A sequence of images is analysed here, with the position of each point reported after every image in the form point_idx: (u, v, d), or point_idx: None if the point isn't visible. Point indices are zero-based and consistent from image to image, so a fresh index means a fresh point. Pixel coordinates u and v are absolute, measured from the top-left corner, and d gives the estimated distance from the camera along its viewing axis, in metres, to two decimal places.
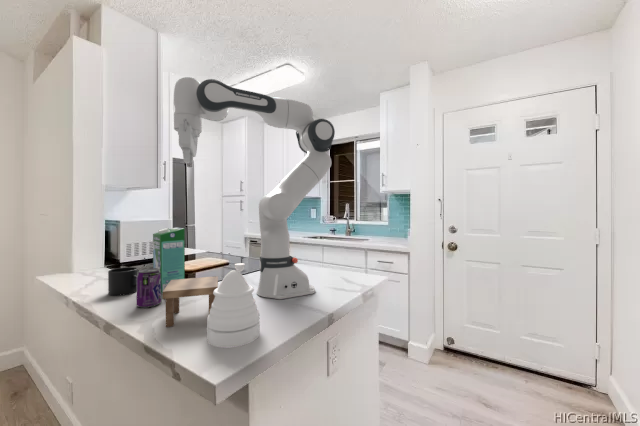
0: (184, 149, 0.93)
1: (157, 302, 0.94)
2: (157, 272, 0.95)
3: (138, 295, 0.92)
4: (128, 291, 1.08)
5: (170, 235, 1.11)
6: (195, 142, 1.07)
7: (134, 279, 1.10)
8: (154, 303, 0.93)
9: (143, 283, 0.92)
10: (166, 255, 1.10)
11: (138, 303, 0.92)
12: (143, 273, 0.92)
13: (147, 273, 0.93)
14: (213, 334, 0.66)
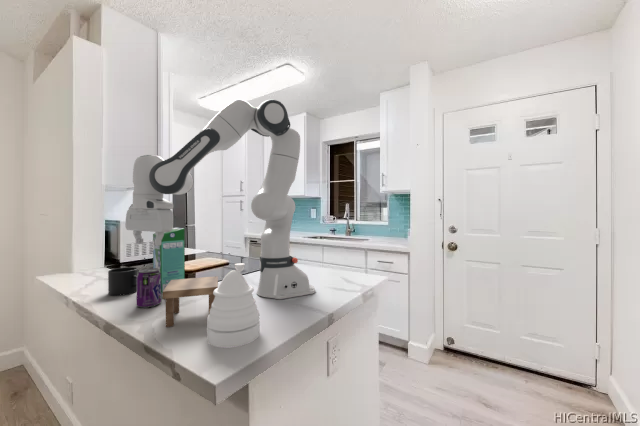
0: None
1: (157, 302, 0.94)
2: (157, 272, 0.95)
3: (138, 295, 0.92)
4: (128, 291, 1.08)
5: (170, 235, 1.11)
6: (157, 215, 0.90)
7: (134, 279, 1.10)
8: (154, 303, 0.93)
9: (143, 283, 0.92)
10: (166, 255, 1.10)
11: (138, 303, 0.92)
12: (143, 273, 0.92)
13: (147, 273, 0.93)
14: (213, 334, 0.66)
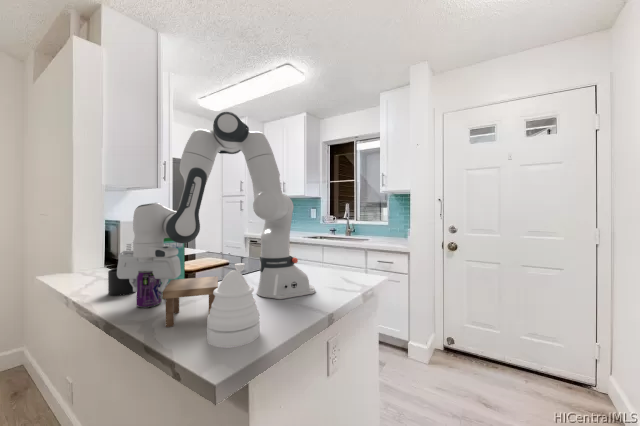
0: None
1: (157, 302, 0.94)
2: None
3: (138, 295, 0.92)
4: (128, 291, 1.08)
5: None
6: (167, 263, 0.93)
7: None
8: (154, 303, 0.93)
9: (143, 283, 0.92)
10: None
11: (138, 303, 0.92)
12: (143, 273, 0.92)
13: (147, 273, 0.93)
14: (213, 334, 0.66)
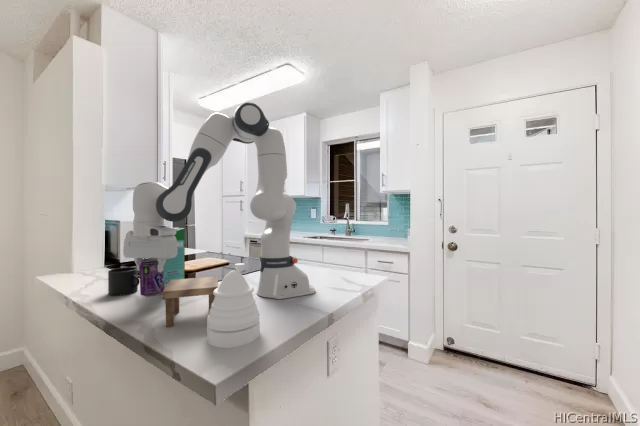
0: None
1: (159, 291, 0.94)
2: None
3: (140, 284, 0.93)
4: (128, 291, 1.08)
5: None
6: (161, 242, 0.91)
7: (134, 279, 1.10)
8: (156, 292, 0.93)
9: (144, 271, 0.92)
10: None
11: (141, 292, 0.93)
12: (144, 262, 0.92)
13: (147, 262, 0.92)
14: (213, 334, 0.66)
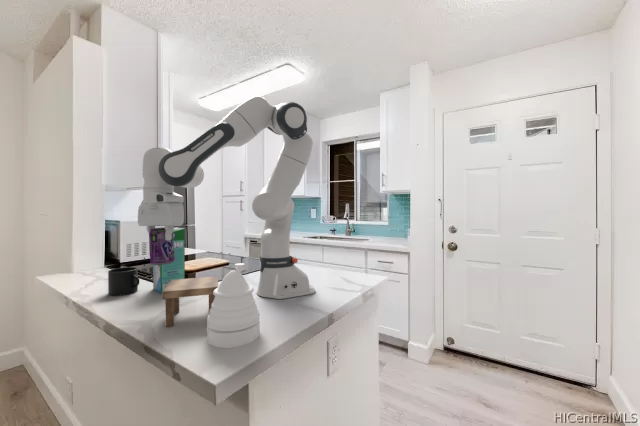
0: None
1: (167, 260, 0.91)
2: None
3: (150, 252, 0.91)
4: (128, 291, 1.08)
5: None
6: (167, 209, 0.88)
7: (134, 279, 1.10)
8: (163, 261, 0.90)
9: (152, 239, 0.90)
10: None
11: (150, 260, 0.91)
12: (152, 229, 0.90)
13: (156, 229, 0.90)
14: (213, 334, 0.66)
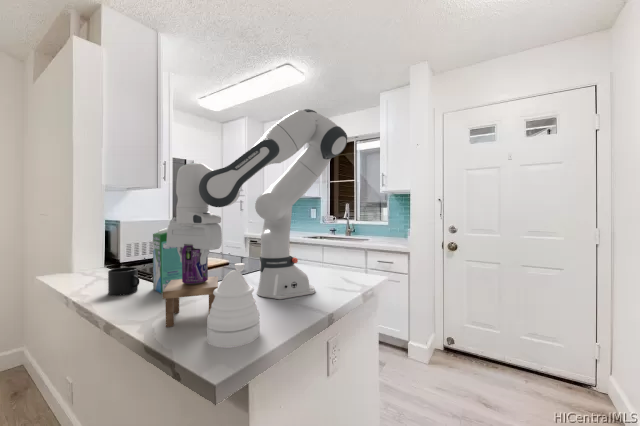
0: None
1: (201, 280, 0.83)
2: None
3: (182, 270, 0.83)
4: (128, 291, 1.08)
5: None
6: (205, 231, 0.80)
7: (134, 279, 1.10)
8: (197, 281, 0.83)
9: (186, 256, 0.82)
10: (166, 255, 1.10)
11: (182, 279, 0.83)
12: (187, 246, 0.83)
13: (190, 246, 0.82)
14: (213, 334, 0.66)
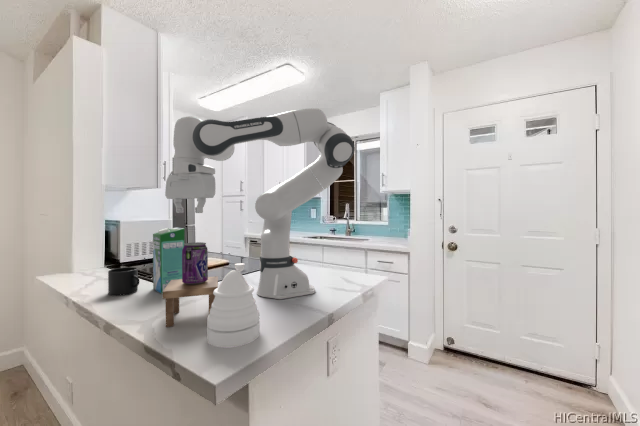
0: None
1: (201, 280, 0.83)
2: (202, 246, 0.84)
3: (182, 270, 0.83)
4: (128, 291, 1.08)
5: (170, 235, 1.11)
6: (199, 180, 0.84)
7: (134, 279, 1.10)
8: (197, 281, 0.83)
9: (186, 257, 0.82)
10: (166, 255, 1.10)
11: (182, 279, 0.83)
12: (187, 246, 0.83)
13: (190, 246, 0.82)
14: (213, 334, 0.66)
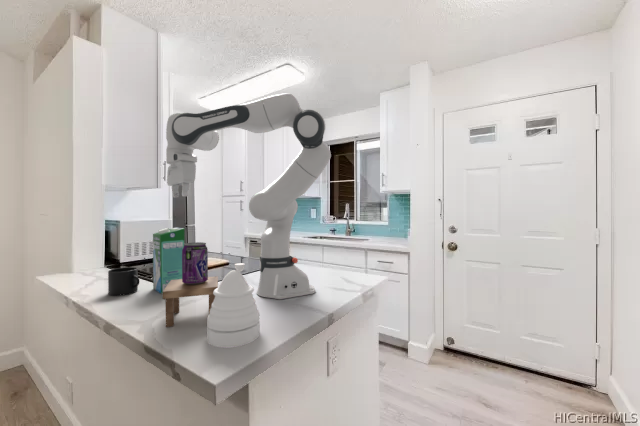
0: None
1: (201, 280, 0.83)
2: (202, 246, 0.84)
3: (182, 270, 0.83)
4: (128, 291, 1.08)
5: (170, 235, 1.11)
6: (181, 167, 0.97)
7: (134, 279, 1.10)
8: (197, 281, 0.83)
9: (186, 257, 0.82)
10: (166, 255, 1.10)
11: (182, 279, 0.83)
12: (187, 246, 0.83)
13: (190, 246, 0.82)
14: (213, 334, 0.66)
